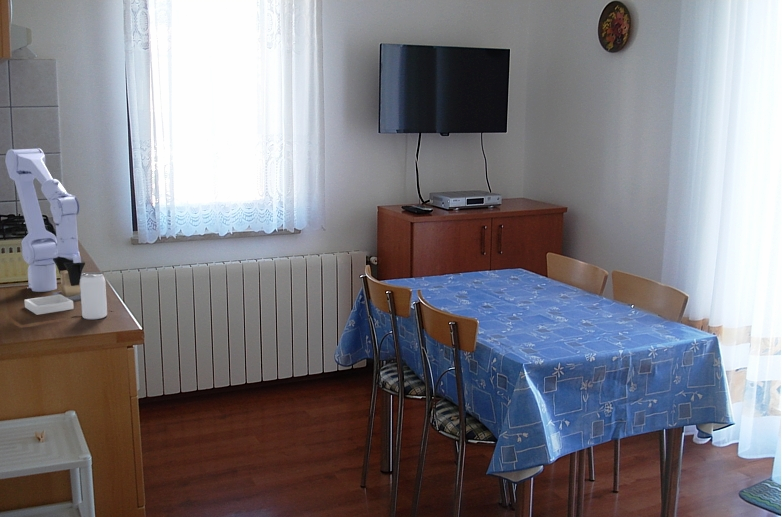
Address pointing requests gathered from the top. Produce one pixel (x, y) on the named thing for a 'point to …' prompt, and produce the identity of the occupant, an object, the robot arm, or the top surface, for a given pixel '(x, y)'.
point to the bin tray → (48, 304)
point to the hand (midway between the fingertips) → (70, 283)
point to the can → (93, 296)
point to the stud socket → (73, 297)
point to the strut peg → (68, 285)
